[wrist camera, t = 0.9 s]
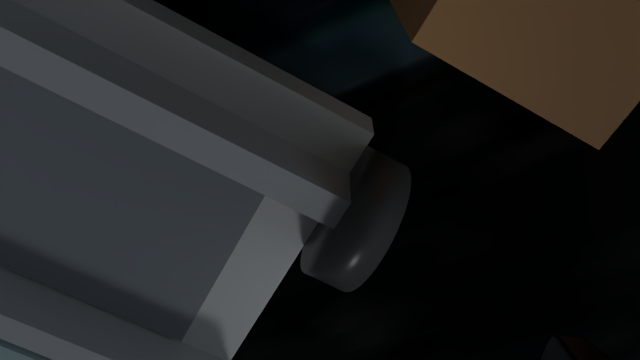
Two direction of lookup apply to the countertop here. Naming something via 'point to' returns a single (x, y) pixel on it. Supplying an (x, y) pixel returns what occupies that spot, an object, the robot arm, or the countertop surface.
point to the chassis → (168, 184)
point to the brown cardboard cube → (541, 54)
